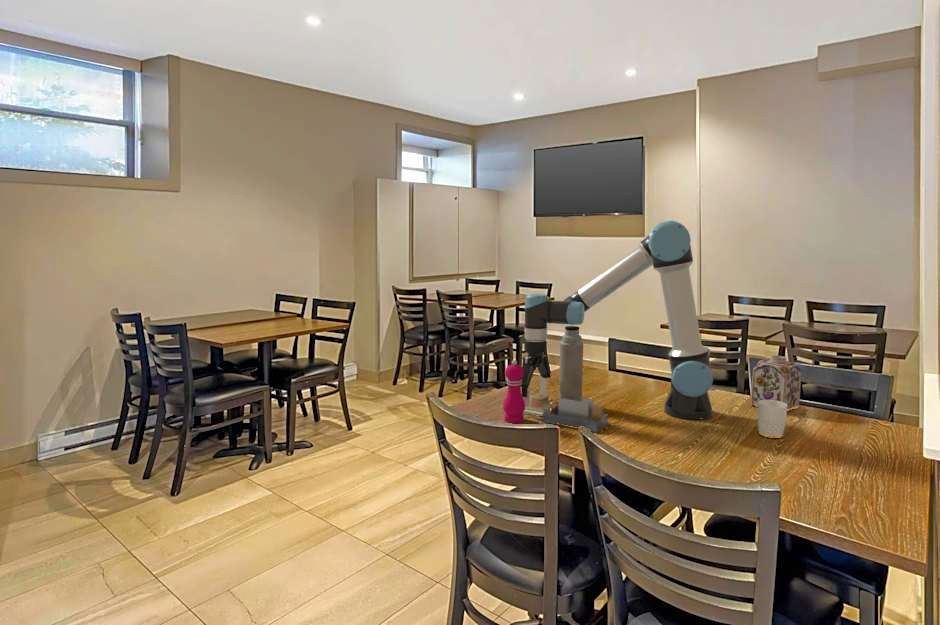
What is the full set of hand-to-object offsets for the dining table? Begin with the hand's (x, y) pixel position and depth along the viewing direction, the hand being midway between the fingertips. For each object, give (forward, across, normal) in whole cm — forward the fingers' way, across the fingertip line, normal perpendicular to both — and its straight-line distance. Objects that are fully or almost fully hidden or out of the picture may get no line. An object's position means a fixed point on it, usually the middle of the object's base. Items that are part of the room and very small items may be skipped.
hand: (534, 400), depth 202 cm
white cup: (+3, -16, +71) cm, 73 cm away
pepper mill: (+3, +13, -1) cm, 13 cm away
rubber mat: (+3, 0, 0) cm, 3 cm away
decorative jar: (+3, -48, +69) cm, 84 cm away
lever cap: (+2, 0, 0) cm, 2 cm away
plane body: (+3, +5, +17) cm, 18 cm away
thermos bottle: (+3, -12, +8) cm, 15 cm away
